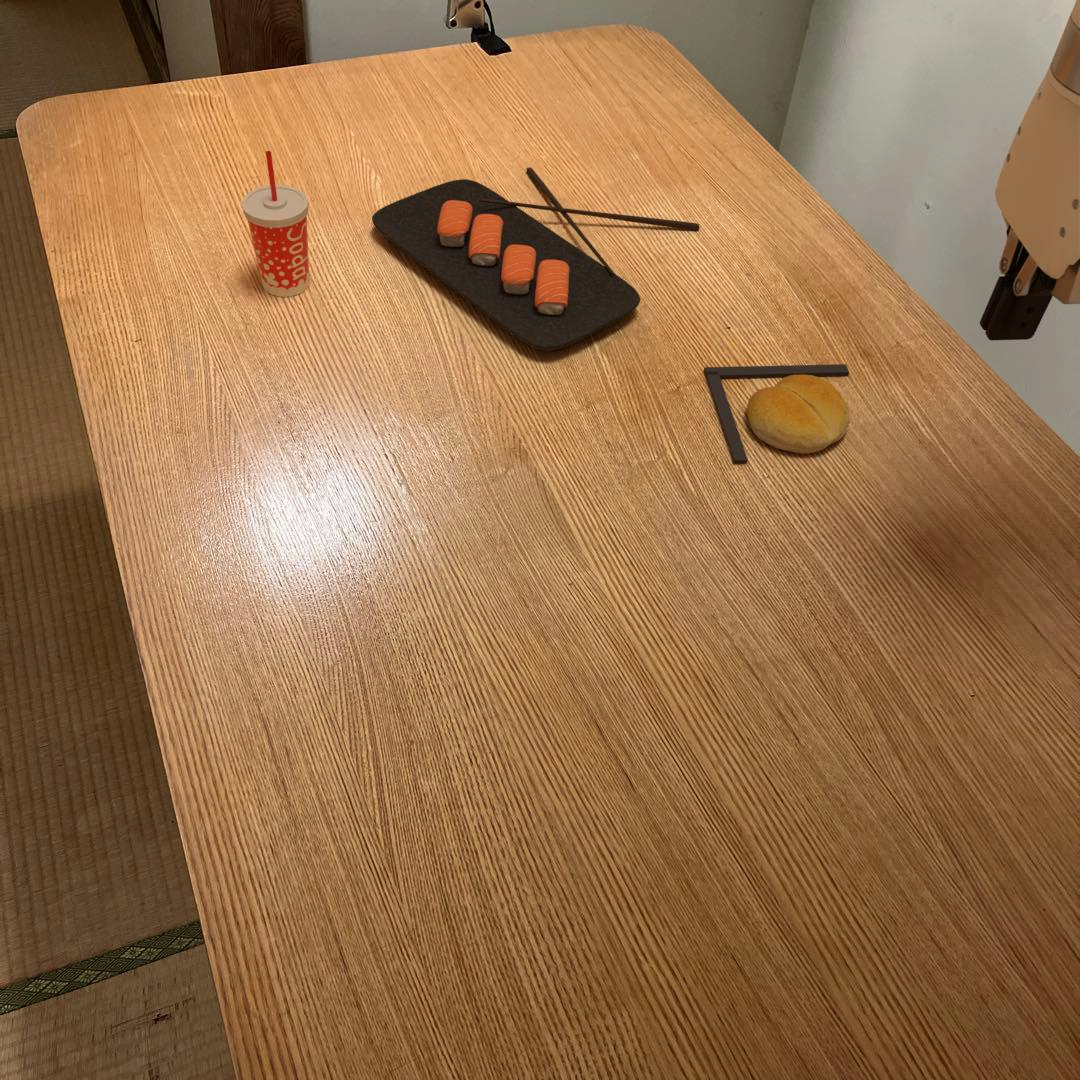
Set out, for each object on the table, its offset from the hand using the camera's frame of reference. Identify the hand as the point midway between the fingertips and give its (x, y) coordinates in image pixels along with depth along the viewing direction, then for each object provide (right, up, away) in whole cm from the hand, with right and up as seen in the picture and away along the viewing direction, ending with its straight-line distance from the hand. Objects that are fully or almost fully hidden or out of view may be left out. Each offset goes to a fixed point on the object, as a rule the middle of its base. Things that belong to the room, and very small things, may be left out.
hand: (1005, 332), depth 73 cm
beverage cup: (-57, +11, +35) cm, 67 cm away
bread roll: (-8, -4, +26) cm, 27 cm away
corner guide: (-8, -3, +26) cm, 27 cm away
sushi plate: (-30, +17, +42) cm, 54 cm away
